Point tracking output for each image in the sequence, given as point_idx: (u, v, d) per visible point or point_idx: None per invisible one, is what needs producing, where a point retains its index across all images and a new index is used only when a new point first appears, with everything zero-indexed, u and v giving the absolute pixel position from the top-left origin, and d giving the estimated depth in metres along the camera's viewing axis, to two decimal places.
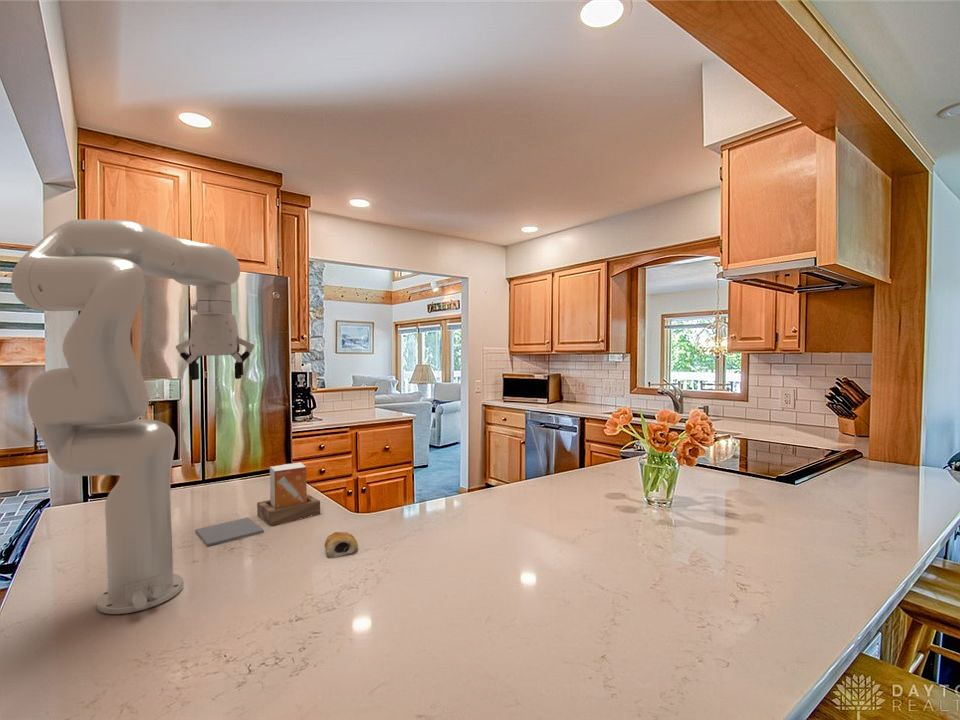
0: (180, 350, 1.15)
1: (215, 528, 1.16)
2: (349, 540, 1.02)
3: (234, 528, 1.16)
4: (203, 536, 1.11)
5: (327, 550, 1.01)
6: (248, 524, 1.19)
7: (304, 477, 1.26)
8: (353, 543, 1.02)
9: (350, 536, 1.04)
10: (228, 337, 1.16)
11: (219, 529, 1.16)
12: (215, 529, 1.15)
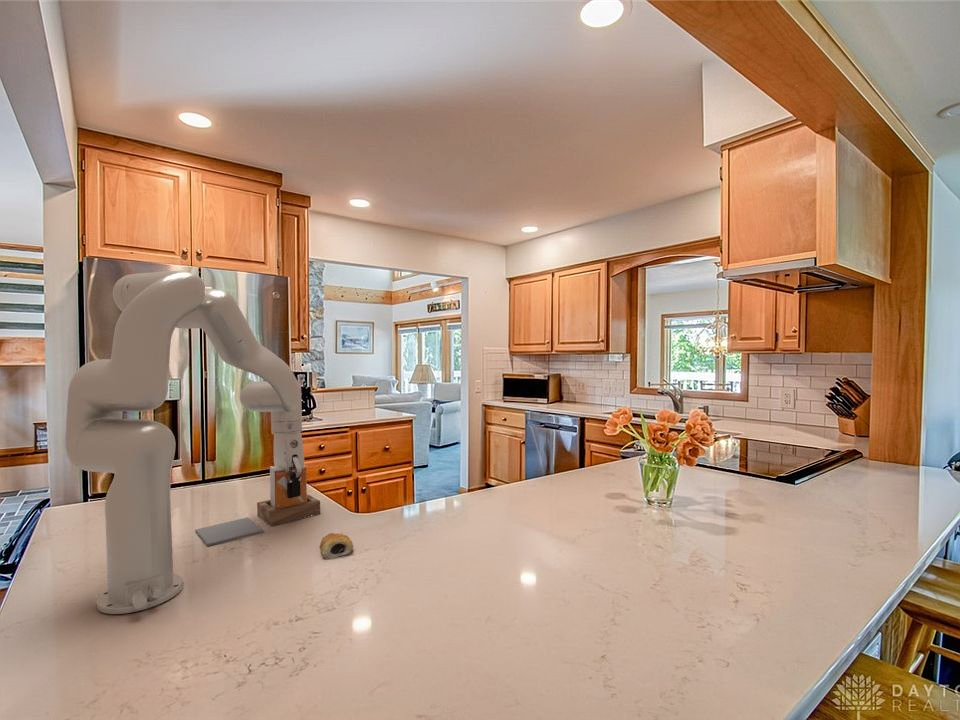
0: None
1: (215, 528, 1.16)
2: (345, 541, 1.01)
3: (234, 528, 1.16)
4: (203, 536, 1.11)
5: (323, 552, 1.00)
6: (248, 524, 1.19)
7: (304, 477, 1.26)
8: (349, 544, 1.02)
9: (345, 537, 1.04)
10: None
11: (219, 529, 1.16)
12: (215, 529, 1.15)
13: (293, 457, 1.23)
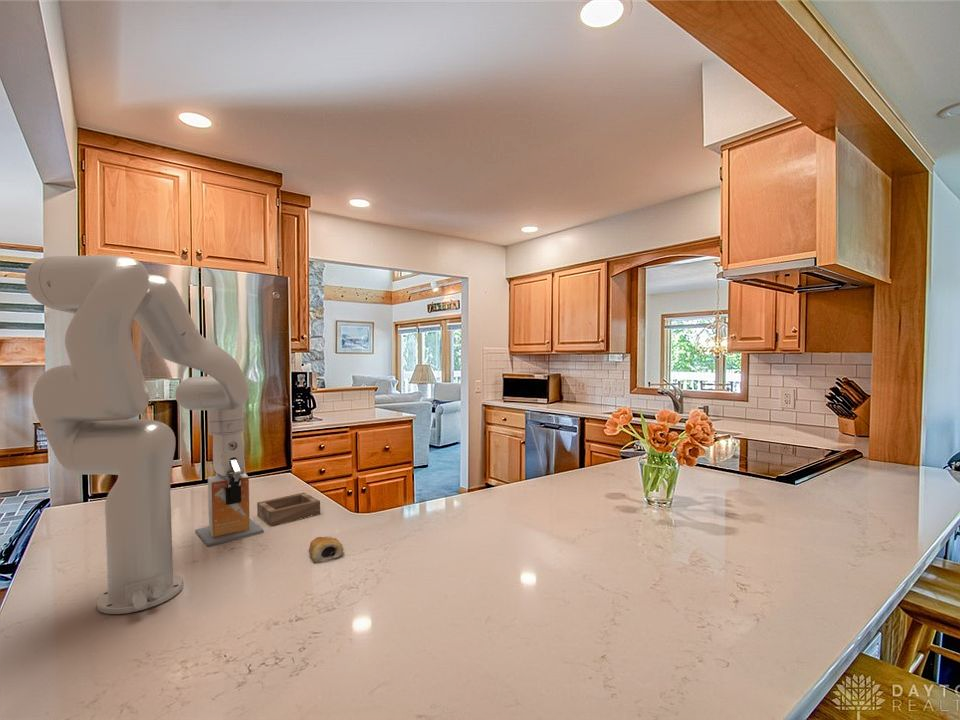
0: None
1: None
2: (336, 544, 1.00)
3: None
4: (203, 536, 1.11)
5: (313, 555, 0.98)
6: None
7: (246, 488, 1.14)
8: (340, 547, 1.00)
9: (335, 540, 1.02)
10: None
11: None
12: None
13: (231, 460, 1.11)
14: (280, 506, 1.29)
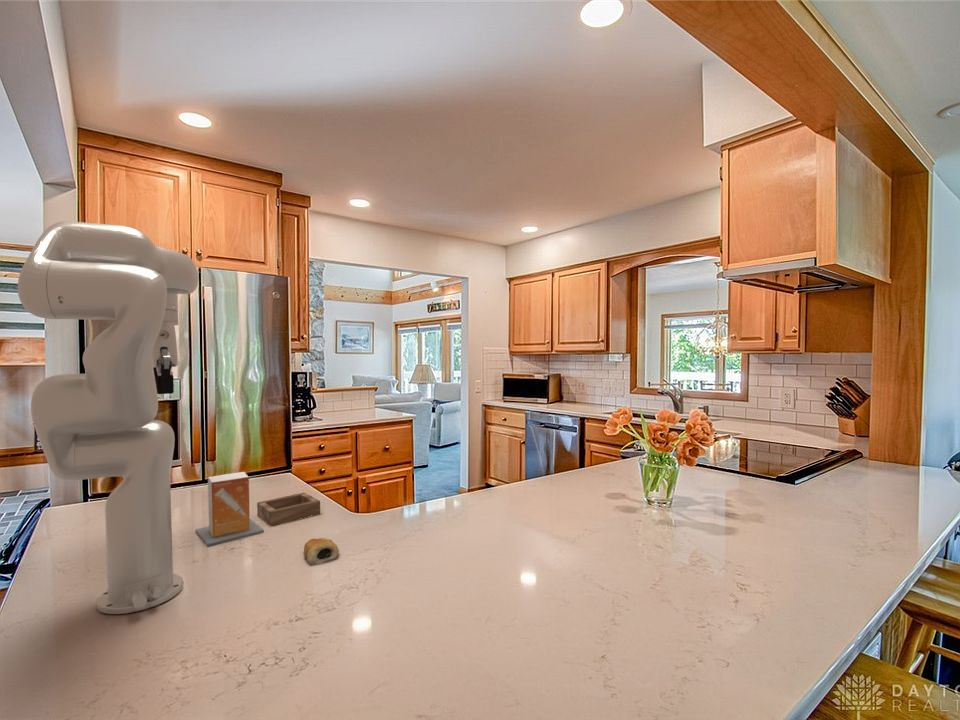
0: (169, 361, 1.06)
1: None
2: (331, 545, 0.99)
3: None
4: (203, 536, 1.11)
5: (309, 557, 0.97)
6: None
7: (246, 488, 1.14)
8: (335, 548, 1.00)
9: (330, 541, 1.02)
10: None
11: None
12: None
13: (161, 348, 1.07)
14: (280, 506, 1.29)
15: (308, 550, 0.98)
